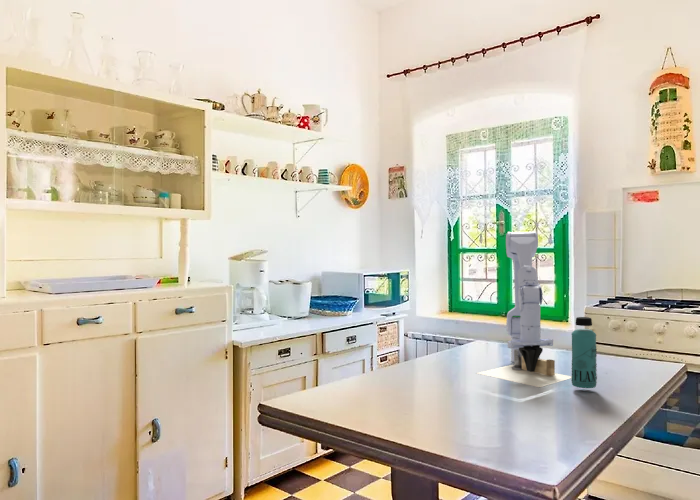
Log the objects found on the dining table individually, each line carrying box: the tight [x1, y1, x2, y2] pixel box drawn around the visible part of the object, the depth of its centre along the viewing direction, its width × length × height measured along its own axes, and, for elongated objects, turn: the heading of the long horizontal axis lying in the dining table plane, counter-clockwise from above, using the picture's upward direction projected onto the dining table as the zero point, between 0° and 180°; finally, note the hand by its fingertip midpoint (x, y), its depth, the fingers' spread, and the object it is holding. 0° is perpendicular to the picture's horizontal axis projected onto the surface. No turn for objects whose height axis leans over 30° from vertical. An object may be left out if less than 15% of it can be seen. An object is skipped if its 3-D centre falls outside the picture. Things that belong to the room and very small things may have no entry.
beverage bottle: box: [570, 316, 598, 389], centre depth 149 cm, size 6×7×20 cm
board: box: [476, 364, 572, 388], centre depth 164 cm, size 18×22×1 cm
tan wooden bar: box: [522, 356, 556, 376], centre depth 166 cm, size 11×2×4 cm, turn 33°
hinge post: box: [512, 349, 523, 370], centre depth 172 cm, size 4×4×7 cm
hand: (530, 371), depth 165 cm, fingers closed
